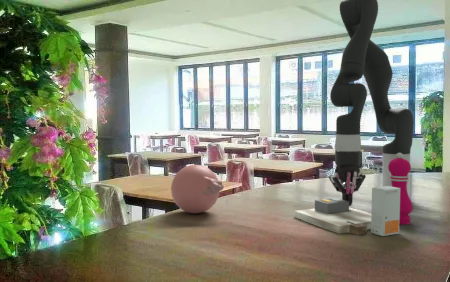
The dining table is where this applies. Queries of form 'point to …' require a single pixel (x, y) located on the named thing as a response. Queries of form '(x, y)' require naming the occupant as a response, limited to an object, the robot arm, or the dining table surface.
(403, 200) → the pepper mill
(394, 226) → the skincare box
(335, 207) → the block
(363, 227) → the board
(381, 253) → the dining table surface
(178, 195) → the balloon
